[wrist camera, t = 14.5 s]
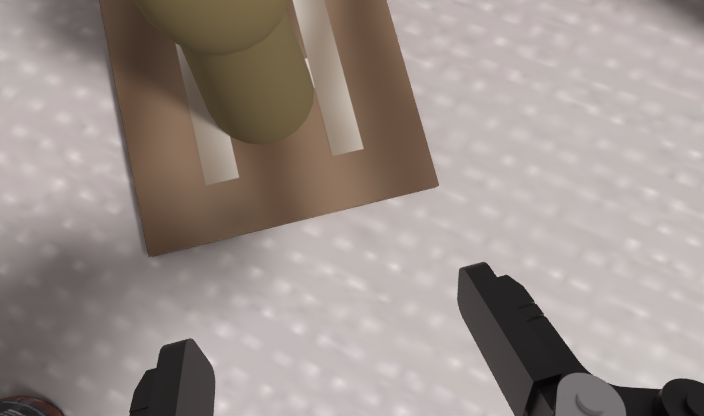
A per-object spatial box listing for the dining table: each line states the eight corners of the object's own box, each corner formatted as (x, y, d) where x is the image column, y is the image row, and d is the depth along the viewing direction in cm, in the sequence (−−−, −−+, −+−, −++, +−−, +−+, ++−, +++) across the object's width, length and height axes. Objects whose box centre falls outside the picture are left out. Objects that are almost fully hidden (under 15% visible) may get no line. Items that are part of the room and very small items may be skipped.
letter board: (366, -60, 24) (367, -68, 23) (436, 187, 22) (439, 185, 21) (101, -12, 22) (95, -20, 22) (153, 256, 21) (148, 256, 20)
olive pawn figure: (182, 87, 21) (29, -91, 10) (264, 21, 22) (204, -209, 11) (255, 166, 21) (176, 67, 10) (336, 96, 22) (344, -66, 11)
